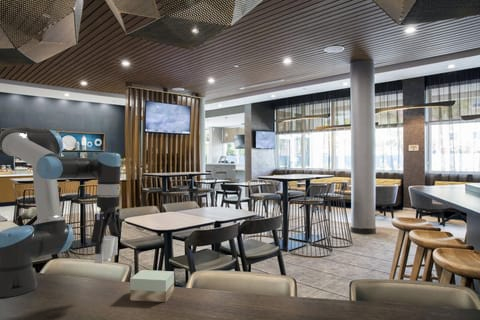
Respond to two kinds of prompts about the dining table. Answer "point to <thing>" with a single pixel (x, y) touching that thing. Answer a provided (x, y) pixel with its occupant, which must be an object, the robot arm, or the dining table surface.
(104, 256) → the cup
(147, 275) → the top block
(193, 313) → the dining table surface
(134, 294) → the bottom block
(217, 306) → the dining table surface
